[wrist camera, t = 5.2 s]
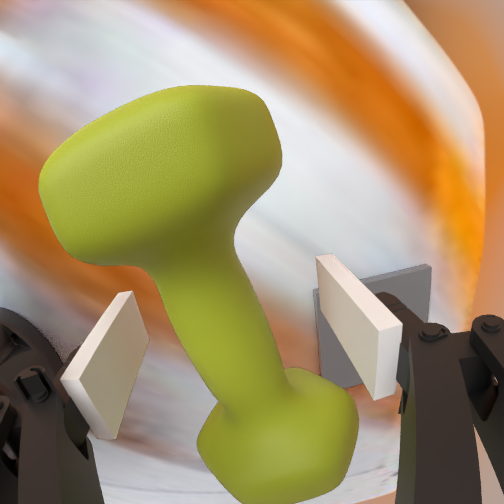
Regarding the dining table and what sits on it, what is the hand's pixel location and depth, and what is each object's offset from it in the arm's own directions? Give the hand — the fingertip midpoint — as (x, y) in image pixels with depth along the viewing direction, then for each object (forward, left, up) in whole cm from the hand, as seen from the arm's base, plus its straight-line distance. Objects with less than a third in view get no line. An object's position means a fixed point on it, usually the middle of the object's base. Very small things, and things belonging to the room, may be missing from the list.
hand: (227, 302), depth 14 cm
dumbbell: (0, 0, -1) cm, 1 cm away
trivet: (+12, -12, -12) cm, 21 cm away
